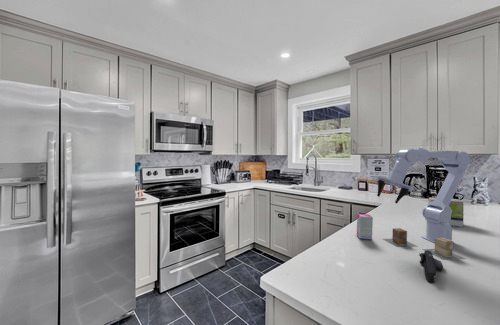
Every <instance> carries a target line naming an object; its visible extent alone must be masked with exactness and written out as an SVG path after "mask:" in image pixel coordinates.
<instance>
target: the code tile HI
mask: <svg viewBox="0 0 500 325" xmlns="http://www.w3.org/2000/svg"><path fill="white" fill-rule="evenodd" d="M422 251H424V252H425V251H430V252H431V253H432V255H433V257H434V256H435V257H436V258H438V259H440V260H441V261H445V260H446V261H448V260H449V261H450V260H451V261H453V260H466V257H463V256H462V255H458V254H457V253H454V252H452V256H442V255H440V254H437V253H435V248H425V249H423V248H422Z"/></svg>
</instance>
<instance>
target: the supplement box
mask: <svg viewBox="0 0 500 325" xmlns="http://www.w3.org/2000/svg"><path fill="white" fill-rule="evenodd" d="M356 214H357V215H356V216H357V218H356V219H357V220H356V237H357V239H359V240H361V241H363V240H364V241H372V240H373V224H374V222H373V220H374V218H373V217H374V216H372V215H371V214H368V213H367V214H366V213H356Z"/></svg>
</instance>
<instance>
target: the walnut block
mask: <svg viewBox="0 0 500 325" xmlns="http://www.w3.org/2000/svg"><path fill="white" fill-rule="evenodd" d="M391 239H392V241H393V242H395V243H397V244H407V241H408V231H407V230H405V229H403V228H401V227H398V228H396V227H395V228H392V238H391Z"/></svg>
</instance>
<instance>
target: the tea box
mask: <svg viewBox="0 0 500 325" xmlns="http://www.w3.org/2000/svg"><path fill="white" fill-rule="evenodd" d="M435 199H436V197H428V203H430V202H432V201H434V200H435ZM448 206H449V207H450V208H451V209H452V213H451V219H450V221H449V222H448V223H449V224H450V225H451V227H453V226H454V227H461V228H463V227H464V201H463V200H460V199H458V198H457V199H456V198H452V200H451V202H450V203H449V205H448Z"/></svg>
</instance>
